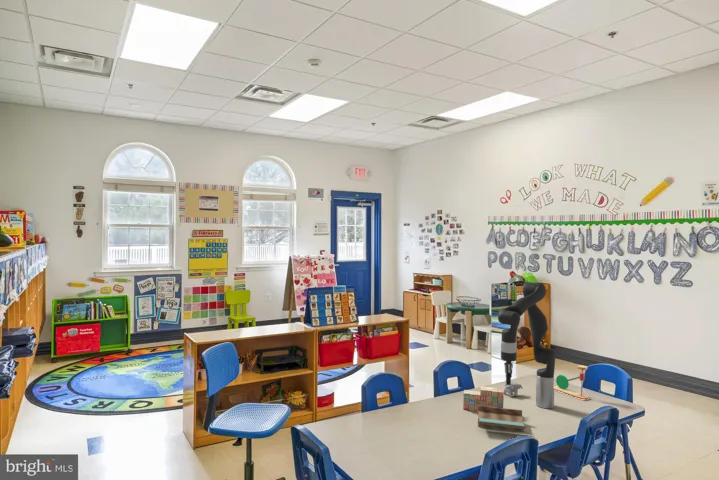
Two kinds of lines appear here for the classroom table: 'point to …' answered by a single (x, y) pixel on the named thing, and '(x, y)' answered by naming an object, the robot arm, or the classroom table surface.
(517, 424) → the tailgate
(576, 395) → the crank mechanism
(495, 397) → the stack of blocks
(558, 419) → the classroom table surface
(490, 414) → the cart bed
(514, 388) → the gray elephant figurine
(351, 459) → the classroom table surface
